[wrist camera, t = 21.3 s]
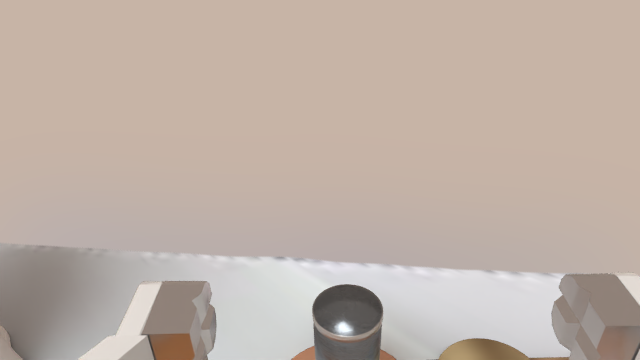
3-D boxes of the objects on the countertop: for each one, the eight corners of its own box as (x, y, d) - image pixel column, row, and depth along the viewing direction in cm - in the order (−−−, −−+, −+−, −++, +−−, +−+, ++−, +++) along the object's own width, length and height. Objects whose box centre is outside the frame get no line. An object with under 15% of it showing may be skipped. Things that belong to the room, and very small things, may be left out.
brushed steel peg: (316, 433, 38) (312, 337, 33) (316, 378, 43) (312, 285, 37) (380, 432, 38) (387, 336, 33) (374, 376, 43) (379, 283, 37)
